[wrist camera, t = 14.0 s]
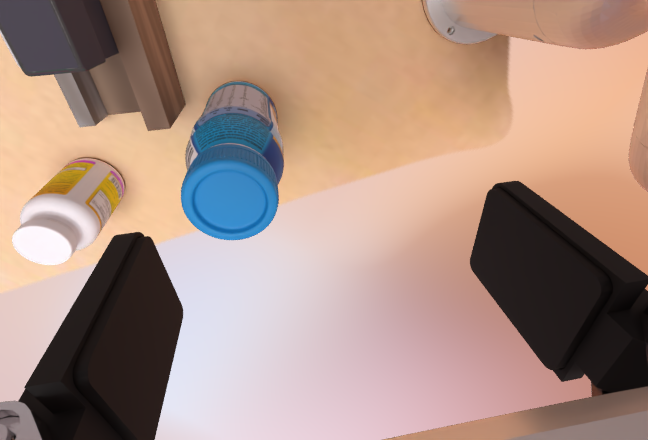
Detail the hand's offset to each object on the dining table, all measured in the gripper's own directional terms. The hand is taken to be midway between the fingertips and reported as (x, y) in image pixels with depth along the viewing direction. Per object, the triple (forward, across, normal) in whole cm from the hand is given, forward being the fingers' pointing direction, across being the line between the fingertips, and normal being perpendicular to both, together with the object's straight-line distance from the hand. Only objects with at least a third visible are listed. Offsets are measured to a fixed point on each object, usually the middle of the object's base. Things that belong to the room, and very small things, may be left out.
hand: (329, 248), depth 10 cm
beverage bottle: (+34, +5, +6) cm, 34 cm away
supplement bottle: (+34, +24, +12) cm, 43 cm away
